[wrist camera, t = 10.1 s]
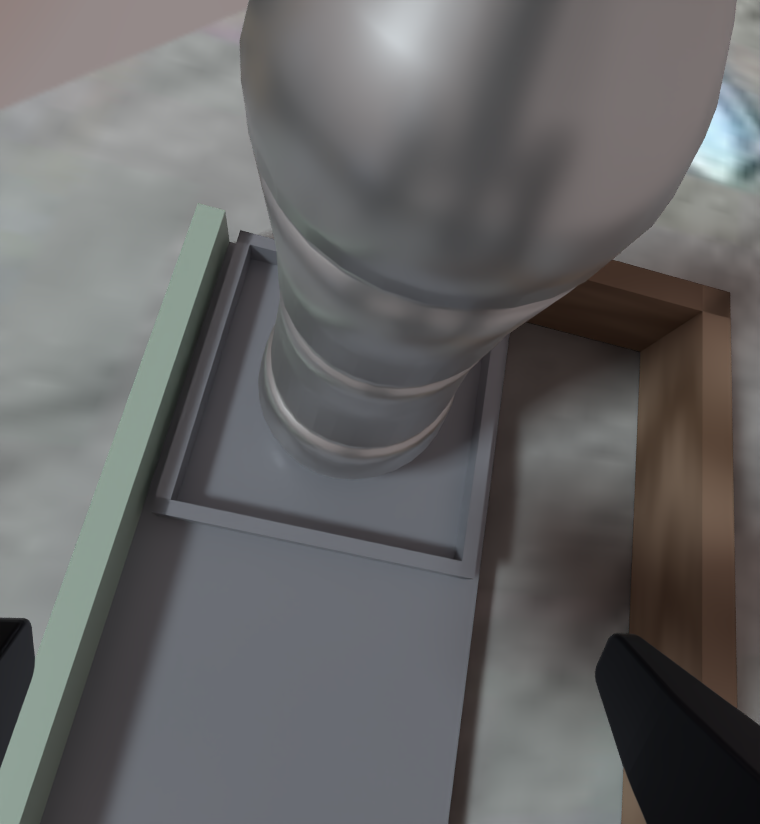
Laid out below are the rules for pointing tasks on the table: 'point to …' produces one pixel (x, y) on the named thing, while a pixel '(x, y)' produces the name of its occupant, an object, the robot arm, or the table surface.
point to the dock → (673, 463)
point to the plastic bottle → (451, 188)
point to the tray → (254, 596)
